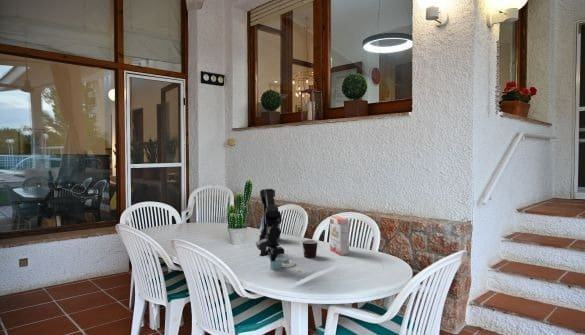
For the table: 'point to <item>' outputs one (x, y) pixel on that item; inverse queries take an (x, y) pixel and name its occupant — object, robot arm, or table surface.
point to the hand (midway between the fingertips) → (272, 263)
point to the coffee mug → (310, 248)
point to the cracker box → (339, 235)
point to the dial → (281, 263)
